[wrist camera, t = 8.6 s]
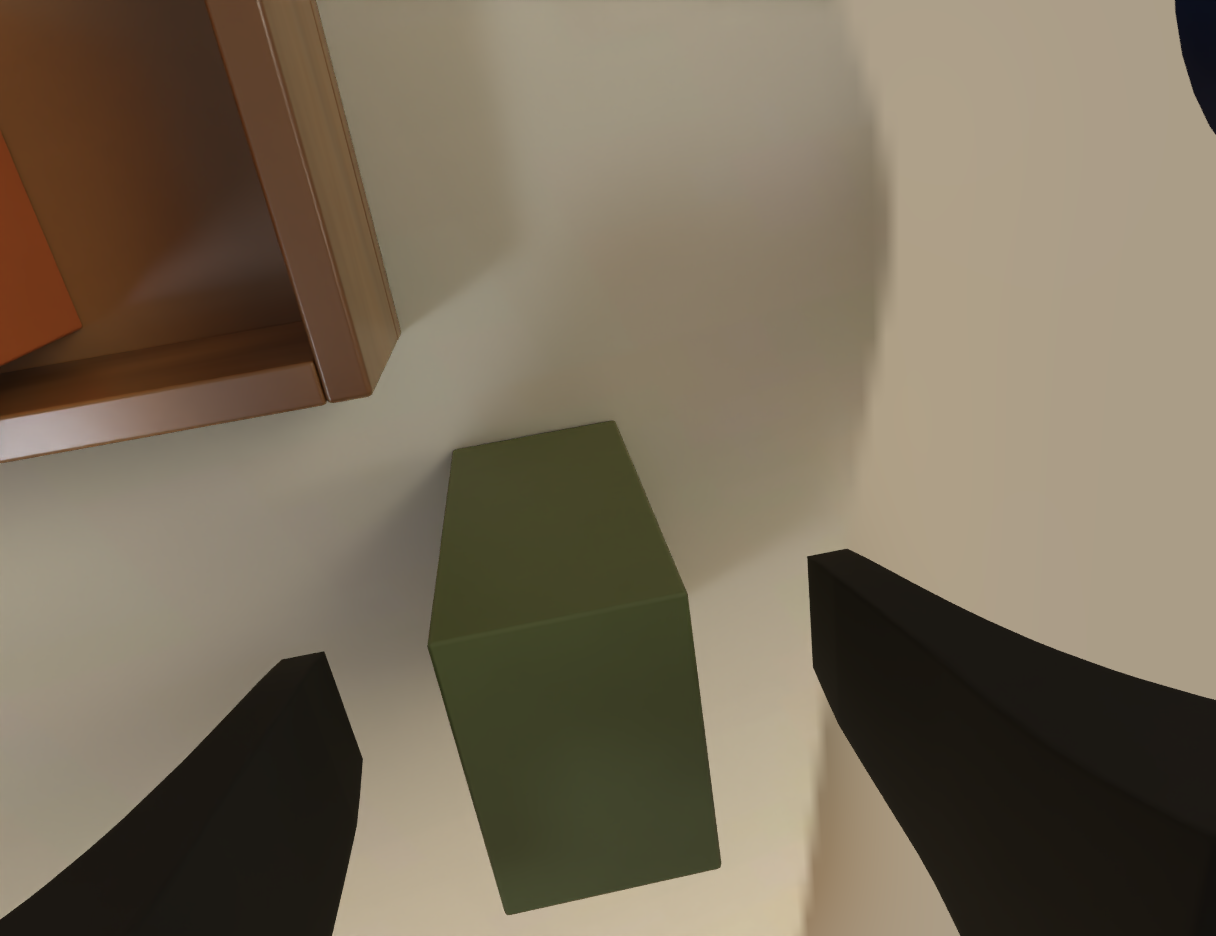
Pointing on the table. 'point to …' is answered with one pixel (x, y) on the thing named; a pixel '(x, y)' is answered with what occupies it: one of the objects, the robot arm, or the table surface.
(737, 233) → the table surface
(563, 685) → the block
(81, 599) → the table surface
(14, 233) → the orange rectangular block
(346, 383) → the wooden tray
